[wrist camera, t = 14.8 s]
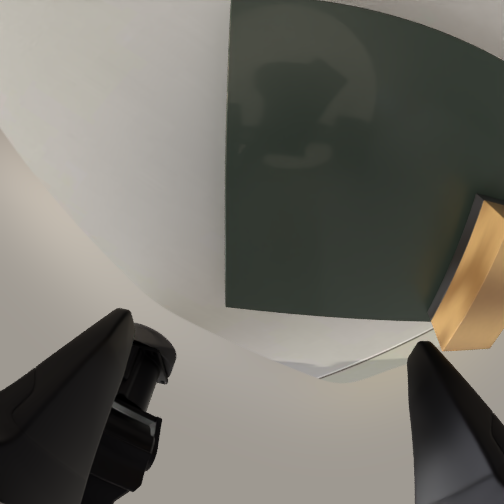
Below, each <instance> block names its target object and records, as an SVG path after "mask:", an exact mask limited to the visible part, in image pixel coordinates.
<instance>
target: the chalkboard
mask: <svg viewBox="0 0 504 504" xmlns="http://www.w3.org/2000/svg"><path fill="white" fill-rule="evenodd" d="M476 193H478V194H481V195H485V196H489V197H492V198H496V199H499V200H503V201H504V61H503V60H501V59H499V58H498V57H496V56H494V55H492V54H490V53H488V52H486V51H484V50H482V49H480V48H478V47H476V46H474V45H472V44H469V43H467V42H465V41H463V40H460V39H458V38H456V37H453V36H451V35H449V34H446V33H444V32H441V31H438V30H436V29H433V28H430V27H427V26H425V25H422V24H419V23H416V22H413V21H410V20H406V19H403V18H400V17H396V16H393V15H389V14H385V13H381V12H377V11H373V10H369V9H365V8H360V7H355V6H350V5H345V4H339V3H333V2H326V1H319V0H231V9H230V28H229V50H228V75H227V107H226V152H225V304H226V307H231V308H240V309H249V310H258V311H268V312H278V313H289V314H300V315H312V316H325V317H339V318H355V319H372V320H394V321H426V322H431V320H430V318H429V315H428V313H427V312H428V310H429V308H430V306H431V304H432V302H433V300H434V298H435V296H436V294H437V292H438V290H439V288H440V285H441V283H442V281H443V279H444V277H445V275H446V272H447V270H448V268H449V266H450V263H451V261H452V259H453V256H454V254H455V251H456V249H457V246H458V244H459V241H460V239H461V236H462V233H463V231H464V228H465V225H466V223H467V220H468V217H469V214H470V211H471V208H472V205H473V202H474V199H475V196H476Z"/></svg>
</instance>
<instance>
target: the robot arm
mask: <svg viewBox="0 0 504 504" xmlns="http://www.w3.org/2000/svg"><path fill="white" fill-rule="evenodd" d="M134 336H135V325H134V322H133V318H132V315H131V312H130V311H129V310H126V309H122V308H117V309H115V310H114V311H112V312H111V313H109V314H108V315H107V316H105V317H104V318H102V319H101V320H100V321H98V322H97V323H95V324H94V325H93V326H91V327H90V328H88V329H87V330H86V331H84V332H83V333H81V334H80V335H79V336H77V337H76V338H75V339H73V340H72V341H71V342H69V343H68V344H66V345H65V346H64V347H62V348H61V349H59V350H58V351H57V352H56V353H54V354H52V355H51V356H50V357H49V358H47V359H46V360H44V361H43V362H42V363H40V364H39V365H38V366H36V368H34V369H33V370H31V371H30V372H28V373H27V374H25V375H24V376H23V377H21V378H20V379H18V380H17V381H16V382H14V383H13V384H11V385H10V386H8V387H6V388H5V389H3V390H2V391H0V504H113V503H114V501H116V500H117V499H119V498H120V497H122V496H123V495H125V494H126V493H128V492H129V491H132V492H134V491H135V490H136V489H137V488H139V487H140V486H141V484H142V480H143V475H144V472H145V471H147V470H148V469H149V468H150V467H151V465H152V464H153V462H154V459H155V457H156V454H157V449H158V442H159V435H160V429H161V423H162V419H161V418H159V417H155V416H153V415H151V414H149V413H147V412H146V411H147V408H148V405H149V402H150V399H151V397H152V394H153V391H154V388H155V385H156V382H157V383H161V384H167V383H168V378H167V375H166V372H165V368H164V365H163V362H162V358H161V355H160V352H159V350H158V349H156V348H152V347H147V346H143V345H138V344H133V340H134ZM407 371H408V396H409V411H410V420H411V430H412V441H413V455H414V476H415V504H504V425H503V424H502V423H501V421H500V420H499V419H498V418H497V416H496V415H495V414H494V413H493V412H492V410H491V409H490V408H489V407H488V406H487V404H486V403H485V402H484V401H483V400H482V399H481V397H480V396H479V395H478V394H477V393H476V392H475V390H474V389H473V388H472V387H471V386H470V385H469V383H468V382H467V381H466V380H465V379H464V378H463V377H462V375H461V374H460V373H459V372H458V371H457V370H456V369H455V368H454V366H453V365H452V364H451V363H450V362H449V361H448V360H447V359H446V358H445V357H444V356H443V354H442V353H441V352H440V351H439V350H438V349H437V348H436V347H435V346H434V345H433V344H432V343H431V342H429V341H420V342H418V343H417V344H416V346H415V348H414V349H413V351H412V352H411V354H410V355H409V357H408V361H407Z"/></svg>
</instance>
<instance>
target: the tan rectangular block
mask: <svg viewBox="0 0 504 504" xmlns="http://www.w3.org/2000/svg"><path fill="white" fill-rule="evenodd" d="M427 313H428V315H429V318H430V320H431V323H432V325H433V328H434V330H435V333H436V336H437V338H438V341H439V344H440V346H441V349H442V351H458V350H473V349H474V350H475V349H488V348H490V347H491V346H492V344H493V343H494V342H495V340H496V339H497V338H498V336H499V335H500V333H501V332H502V330H503V329H504V201H503V200H499V199H496V198H492V197H489V196H485V195H481V194H478V193H476V196H475V199H474V202H473V205H472V208H471V211H470V214H469V217H468V220H467V223H466V225H465V228H464V231H463V233H462V236H461V239H460V241H459V244H458V246H457V249H456V251H455V254H454V256H453V259H452V261H451V263H450V266H449V268H448V270H447V272H446V275H445V277H444V279H443V281H442V283H441V285H440V288H439V290H438V292H437V294H436V296H435V298H434V300H433V302H432V304H431V306H430V308H429V310H428V312H427Z"/></svg>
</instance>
